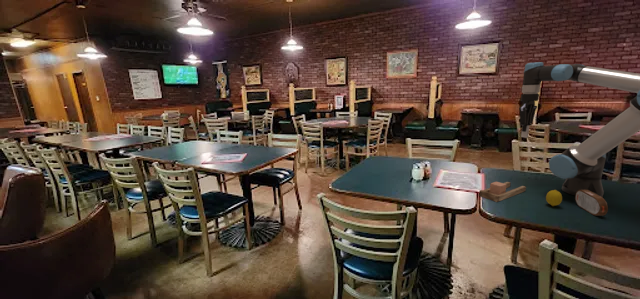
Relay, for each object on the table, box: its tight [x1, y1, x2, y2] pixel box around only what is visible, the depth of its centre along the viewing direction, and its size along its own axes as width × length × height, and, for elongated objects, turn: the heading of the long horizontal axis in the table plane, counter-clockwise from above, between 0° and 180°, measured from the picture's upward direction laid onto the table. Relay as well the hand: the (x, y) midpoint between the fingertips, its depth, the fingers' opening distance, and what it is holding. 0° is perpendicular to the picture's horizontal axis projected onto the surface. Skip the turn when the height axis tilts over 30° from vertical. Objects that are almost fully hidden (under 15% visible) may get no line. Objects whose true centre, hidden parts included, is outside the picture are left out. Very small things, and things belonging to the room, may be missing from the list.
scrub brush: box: [574, 190, 609, 217], centre depth 116 cm, size 15×3×8 cm, turn 168°
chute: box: [478, 181, 527, 203], centre depth 138 cm, size 9×25×3 cm, turn 117°
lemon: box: [545, 189, 563, 207], centre depth 122 cm, size 6×6×8 cm
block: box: [489, 181, 507, 195], centre depth 136 cm, size 5×5×6 cm
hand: (524, 137), depth 146 cm, fingers closed
